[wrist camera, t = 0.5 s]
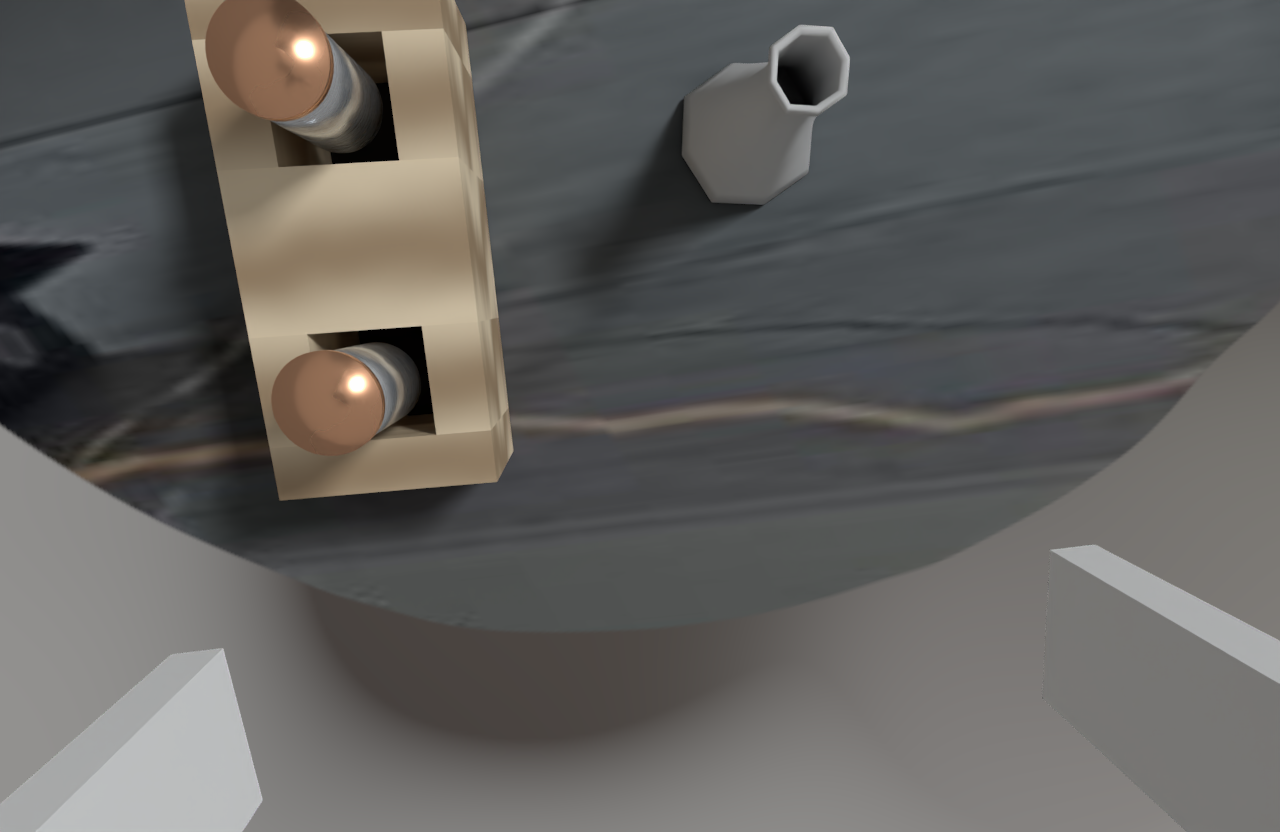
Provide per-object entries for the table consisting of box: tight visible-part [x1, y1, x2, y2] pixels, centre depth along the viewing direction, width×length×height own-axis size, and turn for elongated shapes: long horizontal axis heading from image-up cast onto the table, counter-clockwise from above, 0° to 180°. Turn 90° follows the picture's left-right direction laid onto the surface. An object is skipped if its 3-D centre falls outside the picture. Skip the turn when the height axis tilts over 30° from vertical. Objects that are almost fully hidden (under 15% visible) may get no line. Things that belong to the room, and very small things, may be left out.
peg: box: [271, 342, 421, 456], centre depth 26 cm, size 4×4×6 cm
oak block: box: [185, 0, 513, 501], centre depth 30 cm, size 22×10×6 cm, turn 4°
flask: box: [682, 25, 850, 205], centre depth 28 cm, size 7×7×10 cm
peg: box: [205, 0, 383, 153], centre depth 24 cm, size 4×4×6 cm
